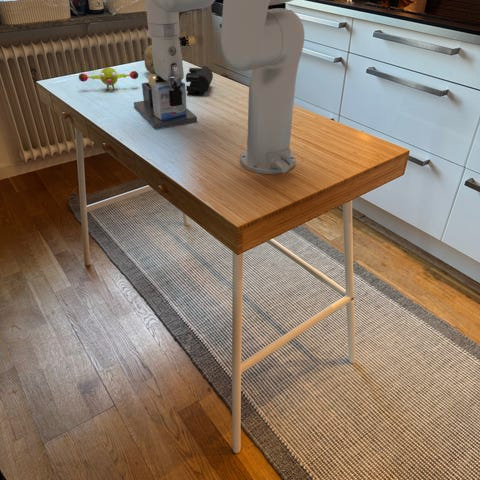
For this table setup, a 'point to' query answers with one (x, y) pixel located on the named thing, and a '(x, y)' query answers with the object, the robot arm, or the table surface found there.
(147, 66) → the natural sponge
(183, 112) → the medicine box
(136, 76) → the toy figure
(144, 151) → the table surface
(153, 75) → the pin
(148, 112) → the grey stand
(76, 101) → the table surface
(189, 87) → the end cap
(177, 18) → the robot arm
